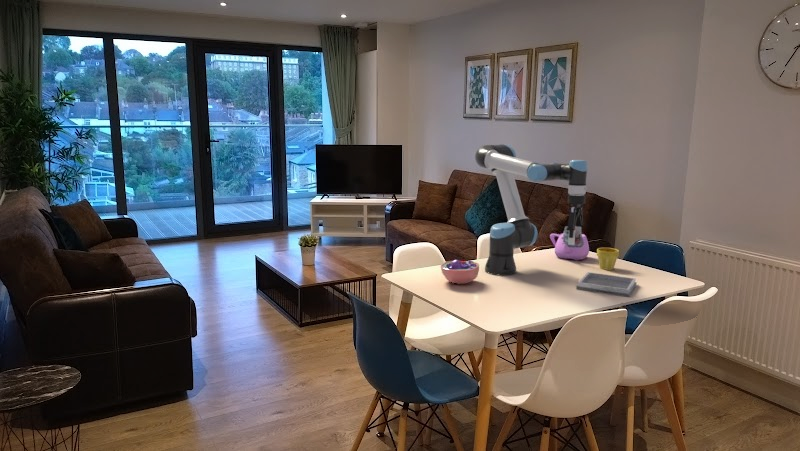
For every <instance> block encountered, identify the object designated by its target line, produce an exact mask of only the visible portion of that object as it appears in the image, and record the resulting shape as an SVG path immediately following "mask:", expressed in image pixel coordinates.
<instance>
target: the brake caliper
mask: <svg viewBox="0 0 800 451" xmlns="http://www.w3.org/2000/svg"><path fill="white" fill-rule="evenodd" d="M567 228H568V225H567V226H564V230H563V233H564V234H563V237H561V238H562V239H563V242H564V243H562V244H566V245H567V246H568V247H582V246H583V245H584V241H583V238H582V234H583V233H581V234H579V237H576V236H575V245H568V233H569V230H567ZM574 231H575V230H574Z"/></svg>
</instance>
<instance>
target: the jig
mask: <svg viewBox="0 0 800 451" xmlns="http://www.w3.org/2000/svg"><path fill="white" fill-rule="evenodd" d="M636 281H637V280H636V278H635V277H627V276H619V275H614V274H613V275H612V274H606V273H605V274H604V273H599V272H597V273H596V272H589V271H588V272H587V273H586V274H585V275H584V276H582V278H581V279H580V280H579V281H578V283H577V285H576V286H575V287H576V288H575V289H576V290H579V291H587V292H591V293H592V292H593V293H601V294H607V295H612V296H618V297H619V296H620V297H625V298H630V297H631V295H632V294H633V292H634V290H635V288H636V287H637V282H638V281H637V282H636ZM632 291H633V292H632Z"/></svg>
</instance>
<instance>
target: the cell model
mask: <svg viewBox="0 0 800 451" xmlns="http://www.w3.org/2000/svg"><path fill="white" fill-rule="evenodd" d="M439 267H440V269H441V273H442V275H443V276H444V278H445V279H446V280H447V281H448V282H450V283H451V282H452V284H454V283H457V284H456V285H464V284H469V283H470V282H472V281H473V280H475V279H477V277H478V276H479V271H480V264H479V263H478V262H475V261H473V260H470V259H469V260H459V259H454V260H449V261H444V262H443V263H442V264H441V265H440V266H439Z"/></svg>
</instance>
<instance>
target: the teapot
mask: <svg viewBox="0 0 800 451" xmlns="http://www.w3.org/2000/svg"><path fill="white" fill-rule="evenodd" d="M563 234H564V232H563V233H562V232H561V233H560V234H559V233H558V234H557V233H551V234H549V238H550V240H551V242H552V244H553V245H554V253H555V254H554V255H555V256H556V257H558V258H560V259H563V260H565V259H568V260H573V261H579V260H584V259H586V258H587V257H588V256H589V254H590V247H589V246H590V245H589V242H588V238H587V235H585V234H584V233H581V234H582V238H583V241H584V245H583V246H582V247H568V246H567V245H566V244H562V243H564V242H563V239H562V238H561V237H563ZM555 237H557V240H555V239H556V238H555Z"/></svg>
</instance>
